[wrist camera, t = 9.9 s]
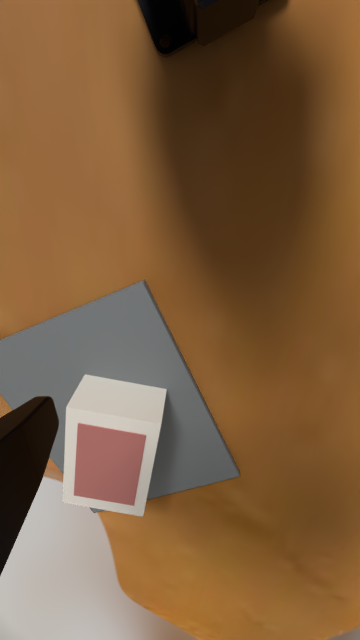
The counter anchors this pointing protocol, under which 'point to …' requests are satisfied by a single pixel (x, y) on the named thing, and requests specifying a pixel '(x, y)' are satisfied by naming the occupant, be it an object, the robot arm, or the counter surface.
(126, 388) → the card box
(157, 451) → the mat
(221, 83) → the counter surface
